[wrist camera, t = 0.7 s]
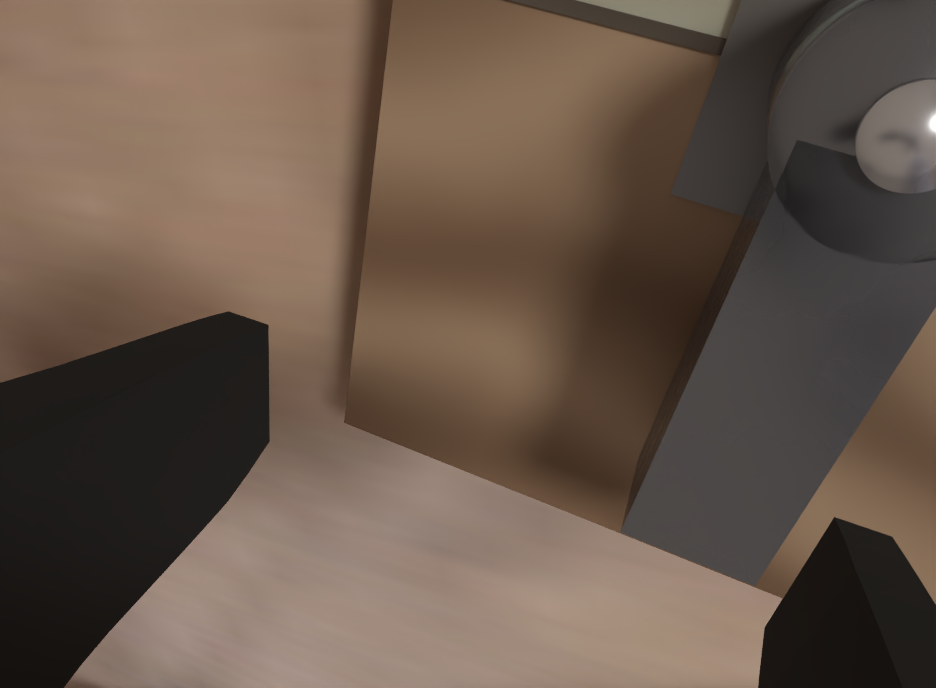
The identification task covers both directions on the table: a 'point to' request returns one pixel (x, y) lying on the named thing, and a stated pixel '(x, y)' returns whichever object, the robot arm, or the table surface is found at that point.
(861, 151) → the latch bar
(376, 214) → the door board
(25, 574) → the robot arm
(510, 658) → the table surface
